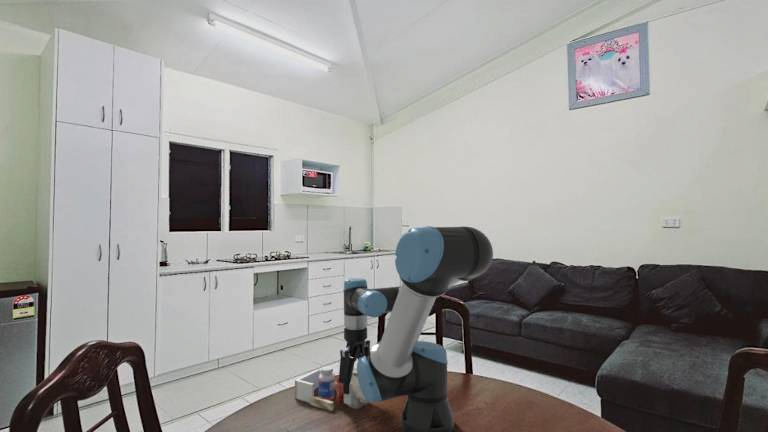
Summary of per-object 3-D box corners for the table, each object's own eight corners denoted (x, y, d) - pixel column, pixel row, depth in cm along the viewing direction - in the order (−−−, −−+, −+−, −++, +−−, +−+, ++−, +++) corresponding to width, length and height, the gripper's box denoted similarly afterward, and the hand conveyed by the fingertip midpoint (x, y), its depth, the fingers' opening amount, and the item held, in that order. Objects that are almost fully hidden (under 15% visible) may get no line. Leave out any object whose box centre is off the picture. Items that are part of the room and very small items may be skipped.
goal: (334, 389, 136) (334, 372, 136) (311, 403, 126) (311, 384, 126) (318, 385, 140) (318, 368, 140) (294, 398, 129) (294, 380, 130)
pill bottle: (315, 398, 129) (315, 369, 129) (324, 392, 134) (324, 364, 134) (328, 402, 126) (328, 372, 127) (338, 395, 131) (337, 366, 132)
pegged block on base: (371, 404, 125) (371, 369, 125) (361, 412, 119) (360, 376, 120) (347, 398, 129) (347, 364, 130) (336, 405, 124) (336, 370, 125)
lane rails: (357, 394, 132) (357, 387, 132) (331, 411, 120) (331, 403, 120) (336, 388, 137) (336, 382, 137) (309, 404, 125) (309, 397, 125)
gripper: (363, 318, 136) (364, 384, 135) (326, 333, 118) (326, 408, 117) (382, 321, 132) (382, 388, 131) (345, 336, 114) (346, 414, 113)
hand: (356, 398), depth 124 cm, fingers open, 8 cm apart
